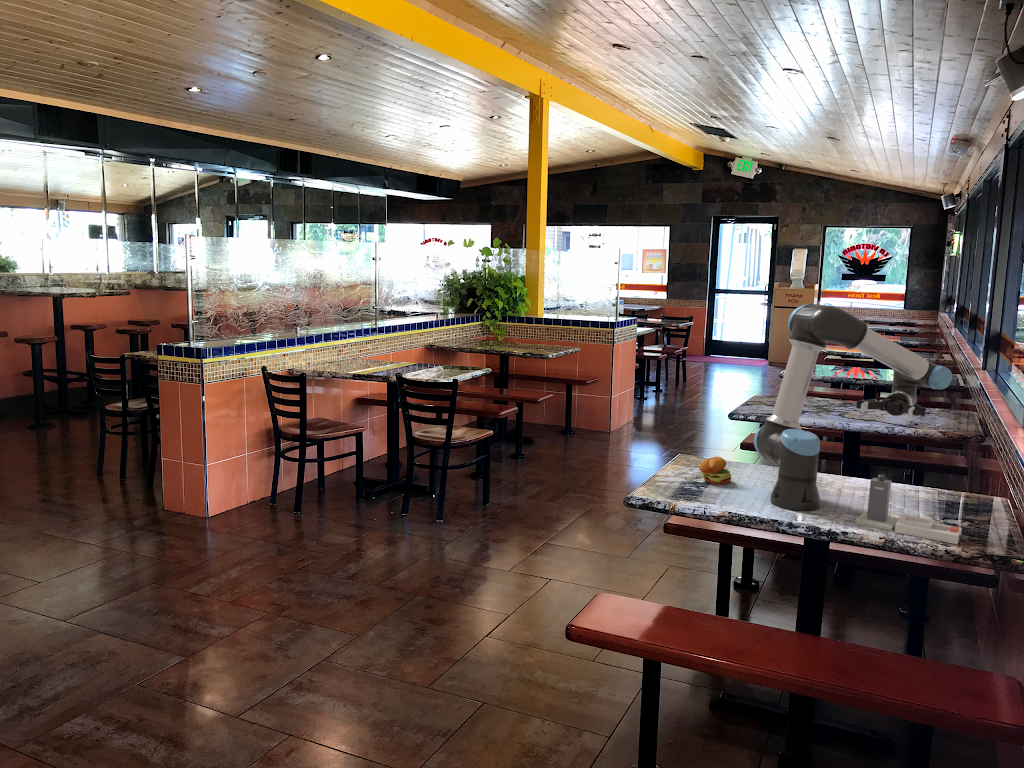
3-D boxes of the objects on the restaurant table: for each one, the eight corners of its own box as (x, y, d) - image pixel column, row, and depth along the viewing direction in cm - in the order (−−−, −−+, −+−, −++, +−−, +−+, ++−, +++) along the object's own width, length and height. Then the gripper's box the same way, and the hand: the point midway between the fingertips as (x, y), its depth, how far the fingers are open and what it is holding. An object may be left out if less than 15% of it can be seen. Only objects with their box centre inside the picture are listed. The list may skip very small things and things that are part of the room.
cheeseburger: (738, 484, 276) (734, 457, 274) (710, 492, 274) (706, 465, 272) (724, 476, 286) (720, 450, 284) (697, 484, 284) (693, 458, 282)
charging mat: (854, 523, 235) (854, 520, 235) (863, 514, 245) (863, 511, 245) (891, 530, 230) (891, 527, 230) (898, 521, 239) (898, 518, 239)
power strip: (894, 532, 229) (895, 520, 228) (900, 524, 236) (901, 513, 236) (965, 545, 219) (966, 533, 218) (968, 537, 226) (970, 526, 225)
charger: (866, 519, 237) (871, 475, 235) (869, 516, 240) (873, 472, 239) (884, 522, 234) (889, 478, 232) (887, 519, 238) (891, 475, 236)
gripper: (938, 419, 257) (928, 428, 239) (856, 409, 271) (842, 417, 254) (941, 396, 256) (931, 404, 238) (859, 388, 270) (844, 394, 253)
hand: (885, 411), depth 246 cm, fingers open, 13 cm apart
